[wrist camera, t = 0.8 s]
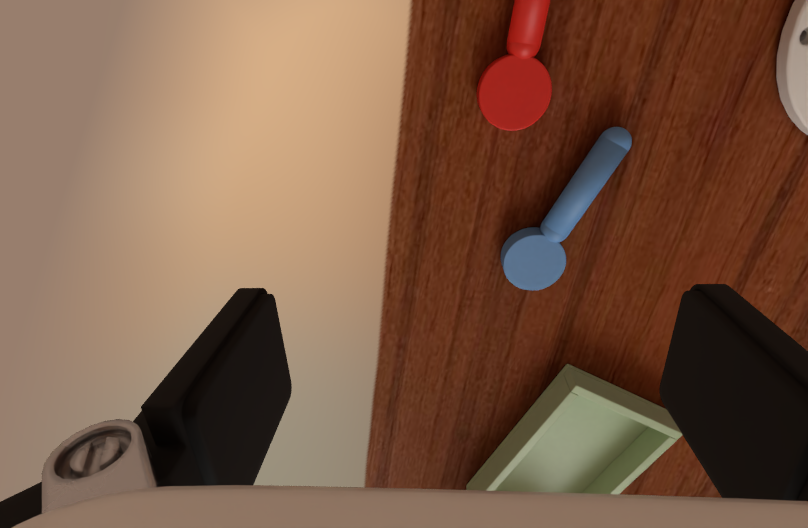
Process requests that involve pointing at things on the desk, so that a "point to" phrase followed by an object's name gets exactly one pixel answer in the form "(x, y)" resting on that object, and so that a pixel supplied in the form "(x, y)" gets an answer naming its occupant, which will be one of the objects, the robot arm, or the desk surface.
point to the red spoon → (518, 72)
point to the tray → (579, 440)
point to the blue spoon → (562, 217)
